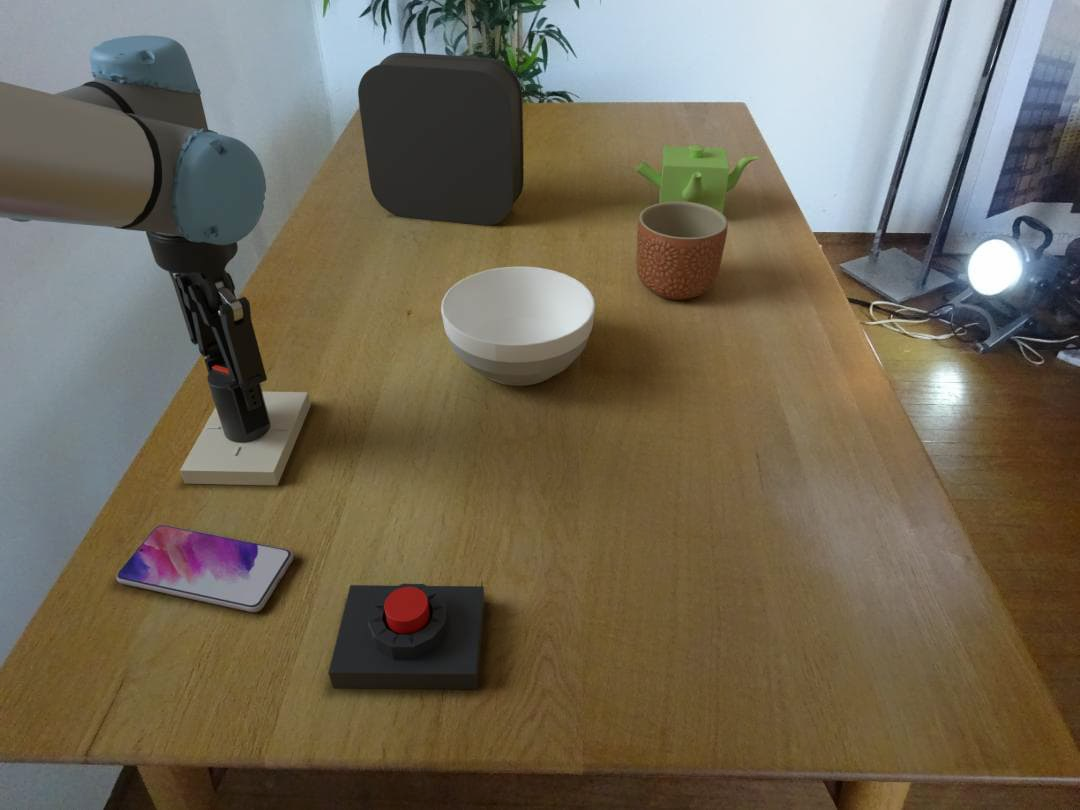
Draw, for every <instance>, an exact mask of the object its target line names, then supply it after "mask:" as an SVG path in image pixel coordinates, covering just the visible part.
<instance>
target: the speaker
mask: <svg viewBox="0 0 1080 810" xmlns="http://www.w3.org/2000/svg"><path fill="white" fill-rule="evenodd" d="M357 97H358V98H357V99H358V106H359V114H360V115H359V116H360V121H361V129H362V136H363V144H364V150H365V151H364V152H365V158H366V166H367V173H368V178H369V179H368V180H369V185H370V189H371V193H372V195H373V197H374V198H375V200H376V201H377V203H378V204H379V205H380V207H382V208H383V209H384V210H385V211H387V212H388V213H390V214H392V215H395V216H396V217H401V218H410V219H417V220H428V221H437V222H447V223H457V224H466V225H476V226H492V225H496V224H499V223H500V222H502V221H504V219H505V218H506V217H507V216H508V215H509V214H510V212H511V211H512V209H513V206H514V204H515V202H517V200H518V199H519V197H520V196H521V194H522V192H523V189H524V181H525V178H524V177H525V176H524V175H525V173H524V171H525V170H524V169H525V168H524V161H525V160H524V106H523V88H522V84H521V82H520V80H519V77H518V76H517V74H516V73H515V72H514V70H513V69H512V68H511V66H509V65H508V64H506V63H505V62H503V61H501V60H500V59H497V58H492V57H484V56H483V57H480V56H469V55H468V56H467V55H454V54H450V55H449V54H437V53H436V54H435V53H420V52H419V53H418V52H417V53H416V52H394V53H390V54H389V55H387V56H386V57H385V58H384V59H382V60H381V61H380V63H379V64H376V65H374V66H372V67H370V68H369V69H368V70H366V72H365V73H364V74H363V75H362V77H361V78H360V81H359V83H358V88H357Z"/></svg>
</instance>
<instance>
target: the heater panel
mask: <svg viewBox="0 0 1080 810" xmlns="http://www.w3.org/2000/svg"><path fill="white" fill-rule="evenodd" d="M262 393H263V397H264V400H265V404H266V408H267V412H268V415H269V419H270V423H271V426H270V429H269V431H268V432H267V433H266V434H265V435H264V436H262V437H261V438H259V439H256V440H254V441H250V442H244V443H238V442H233V441H230V440H229V439H227V438H226V437H225V435H224V431H223V428H222V425H221V422H220V419H219V416H218V412H217V409H216V406H215V408H214V409H213V411H212V413H211V415H210V417H209V418H208V420H207V422H206V423H205V425H204V427H203V428H202V430H201V433H200V434H199V436H198V437H197V440H196V441H195V443H194V445H193V446H192V448H191V450H190V452H189V454H188V455H187V457H186V459H185V461H184V462H183V464H182V466H181V467H180V470H179V471H180V474H181V476H182V479H183V482H184V484H186V485H229V486H231V485H232V486H234V485H235V486H276V487H277V486H278V485H279V483H280V481H281V478H282V476H283V474H284V470H285V468H286V466H287V464H288V461H289V459H290V456H291V454H292V452H293V449H294V447H295V444H296V442H297V439H298V438H299V435H300V432H301V431H302V430H301V429H302V427H303V426H304V423H305V420H306V418H307V415H308V413H309V411H310V409H311V404H312V403H311V400H310V395H309V392H307V391H263V390H262Z"/></svg>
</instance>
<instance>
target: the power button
mask: <svg viewBox="0 0 1080 810" xmlns="http://www.w3.org/2000/svg"><path fill="white" fill-rule="evenodd" d="M384 609H385V615H386V620H387V624H388V626H389V627H390V629H392V630H393V631H394V632H396V633H399V634H412V633H415V632H417V631H419V630H421V629H422V628H423V627H424V626H425V625H426V624H427V622H428V620H429V616H430V613H429V605H428V599H427V596H426V594H425V593H424V592H423V591H422V590H420V589H418V588H415V587H402V588H399V589H397V590H395V591H393V592H392V593H391V594H390V595H389V596H388V597H387V599H386V601H385V604H384Z"/></svg>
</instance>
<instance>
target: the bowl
mask: <svg viewBox="0 0 1080 810" xmlns="http://www.w3.org/2000/svg"><path fill="white" fill-rule="evenodd" d="M440 311H441V312H440V313H441V317H442V323H443V327H444V332H445V334H446V336H447V339H448V341H449V344H450V346H451V348H452V350H453V351H454V353H455V355H456V356H457V357H458V358H459V359H460V360H461V361H462V362H463V363H464V364H465V365H466V366H467V367H469V368H470V369H471V370H472V371H474V372H475V373H476V374H479V375H480V376H483V377H484V378H487V379H489V380H490V381H493V382H495V383H497V384H501V385H505V386H514V387H523V386H531V385H532V386H533V385H535V384H540V383H543V382H544V381H547V380H549V379H551V378H552V377H553V376H556V375H559V374H560V373H561V372H563V371H564V370H567V368H568V367H569V366H571V365H572V363H574V361H575V360H576V359H577V358H578V357H579V356H580V355H581V354H582V353H583V351H584V349H585V348H586V346H587V344H588V341H589V339H590V335H591V332H592V330H593V327H594V326H593V324H594V321H595V312H596V301H595V298H594V296H593V295H592V292H591V290H590V289H589V288H588V287H587V286H586V285H584V283H582V282H581V281H579V280H578V279H576V278H574V277H572V276H570V275H568V274H566V273H563V272H560V271H556V270H553V269H548V268H543V267H537V266H504V267H496V268H491V269H486V270H482V271H479V272H477V273H474V274H471V275H469V276H467V277H465V278H462V279H461V280H459V281H458V282H456V283H455V284H453V285H452V286H451V287H450V288H449V289H448V291H447V292H446V293H445V294H444V297H443V298H442V300H441V305H440Z"/></svg>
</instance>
